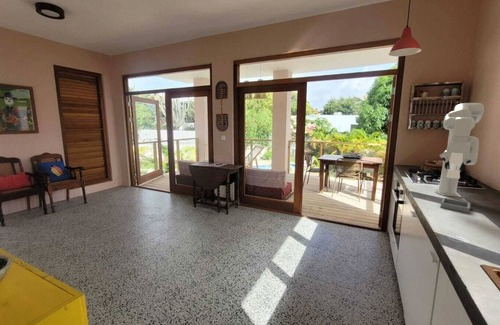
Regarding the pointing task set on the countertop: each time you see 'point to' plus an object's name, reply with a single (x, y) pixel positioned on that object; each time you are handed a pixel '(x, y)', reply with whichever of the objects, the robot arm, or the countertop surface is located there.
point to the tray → (455, 205)
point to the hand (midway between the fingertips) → (454, 169)
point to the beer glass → (455, 165)
